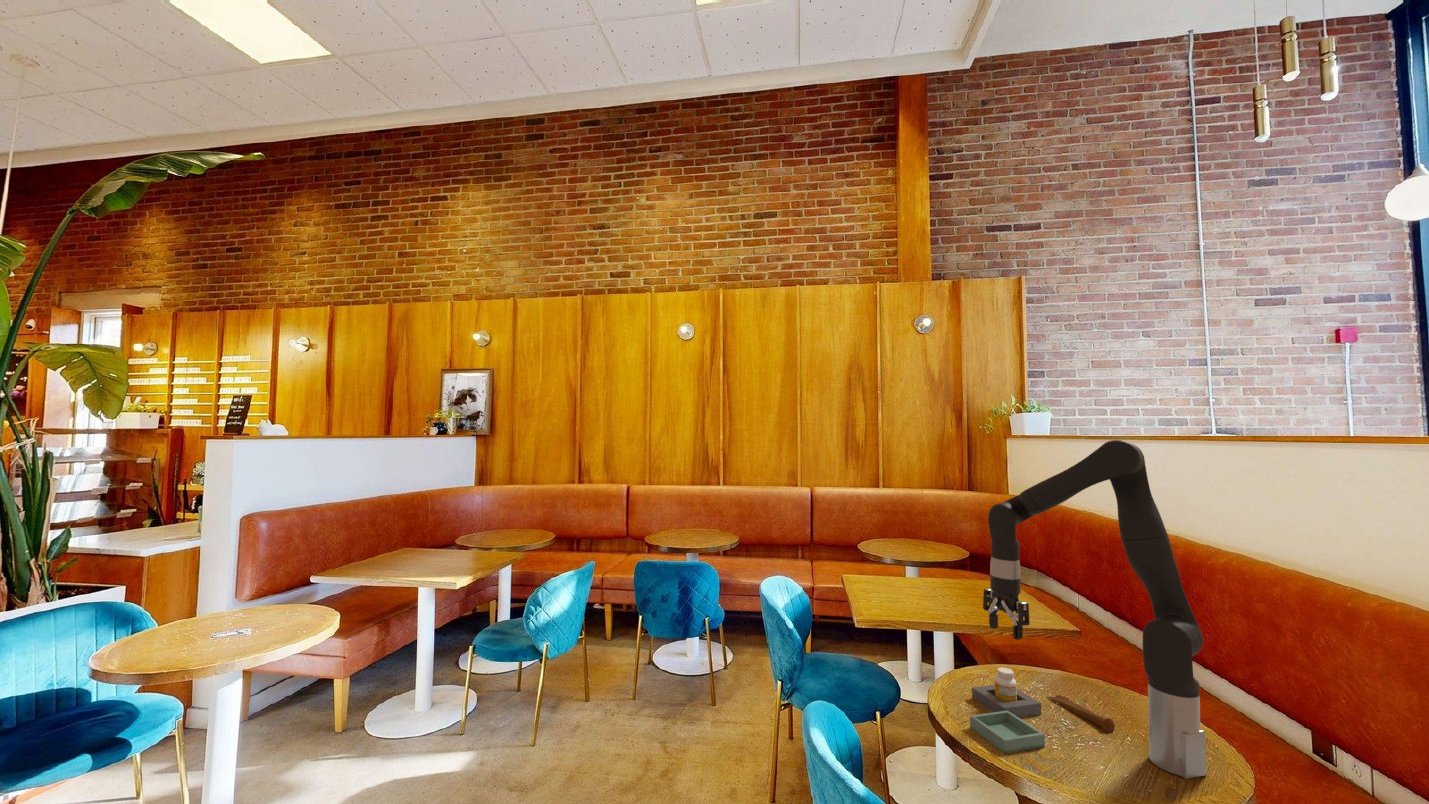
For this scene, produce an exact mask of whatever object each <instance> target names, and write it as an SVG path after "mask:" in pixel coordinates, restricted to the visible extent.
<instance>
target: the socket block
mask: <svg viewBox="0 0 1429 804" xmlns="http://www.w3.org/2000/svg"><path fill="white" fill-rule="evenodd" d="M971 699H972V700H974V701H975V702H977V703H978V704H980V705H981V706H983V707H984V708H986V709H987V710H989V711H990V712H991V713H993V712H1000V711H1009V712H1011V713H1012V714H1014V715H1015V716H1017V717H1018V718H1020V719H1022V718H1027V717H1032V716H1034V715H1035V716H1039V715H1042V702H1040V701H1039V700H1036V699H1035V698H1033V697H1031V696H1030V695H1028V694H1027V693H1025V692H1023V691H1021V690H1019V689H1018V688H1017V701H1013V702H1003V701H1002V700H1000V699H998V698H997V697H995V684H990V685H983V686H982V685H981V686H976V687H975V686H974V687H971Z"/></svg>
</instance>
